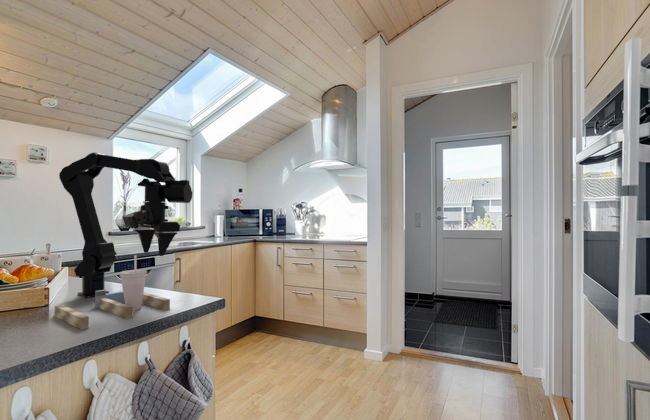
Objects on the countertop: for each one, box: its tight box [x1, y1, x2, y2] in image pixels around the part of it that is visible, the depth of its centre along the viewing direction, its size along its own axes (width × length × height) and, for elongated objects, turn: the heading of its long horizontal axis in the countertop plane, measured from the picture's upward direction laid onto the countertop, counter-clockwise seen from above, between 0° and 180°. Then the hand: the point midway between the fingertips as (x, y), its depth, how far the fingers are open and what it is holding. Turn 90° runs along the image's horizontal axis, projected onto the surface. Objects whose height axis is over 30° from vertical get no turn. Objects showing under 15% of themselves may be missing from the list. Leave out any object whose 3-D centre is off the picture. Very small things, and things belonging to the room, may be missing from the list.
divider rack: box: [54, 291, 171, 330], centre depth 92 cm, size 16×20×2 cm
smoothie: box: [119, 254, 148, 311], centre depth 96 cm, size 6×6×14 cm
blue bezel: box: [94, 289, 125, 309], centre depth 101 cm, size 2×11×4 cm, turn 143°
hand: (153, 254), depth 109 cm, fingers open, 9 cm apart
